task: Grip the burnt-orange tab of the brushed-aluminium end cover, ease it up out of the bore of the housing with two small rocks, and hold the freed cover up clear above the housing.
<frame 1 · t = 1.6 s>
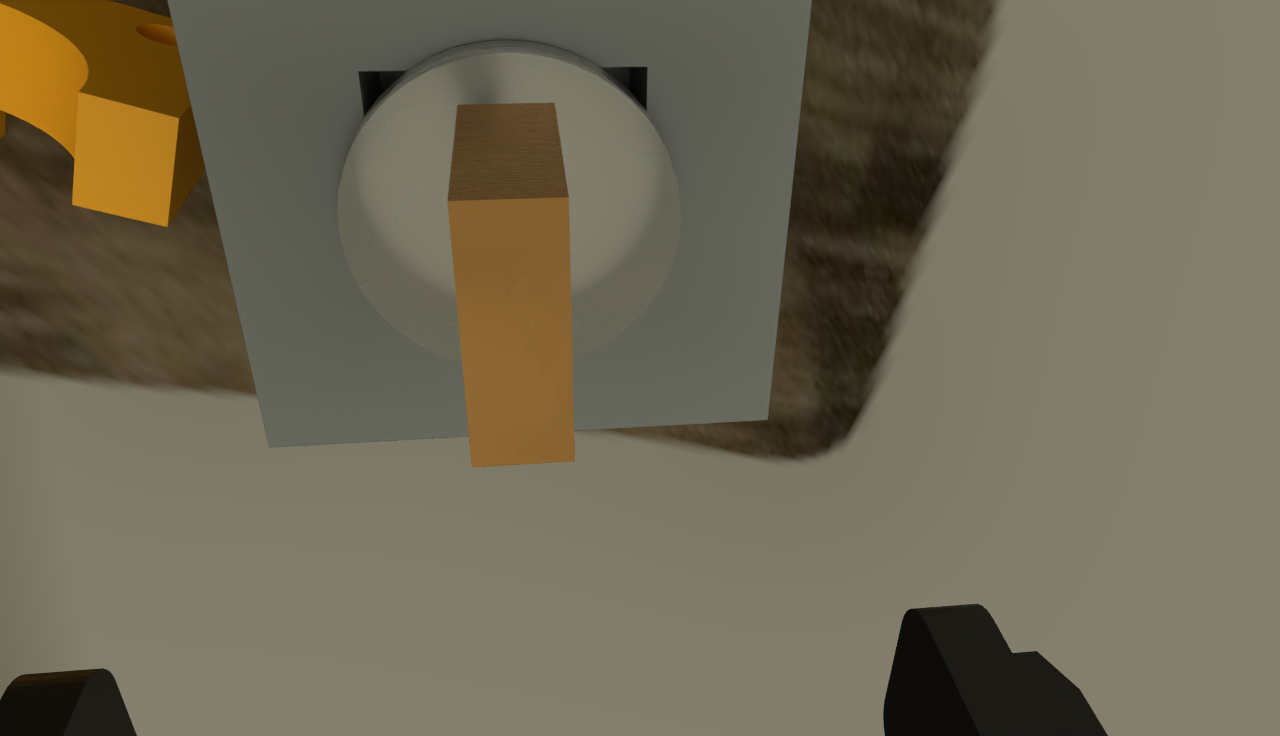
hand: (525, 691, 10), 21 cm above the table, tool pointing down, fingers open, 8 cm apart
end cover: (510, 151, 24), point 5 cm above the table, touching bearing housing
bearing housing: (508, 87, 28), on the table
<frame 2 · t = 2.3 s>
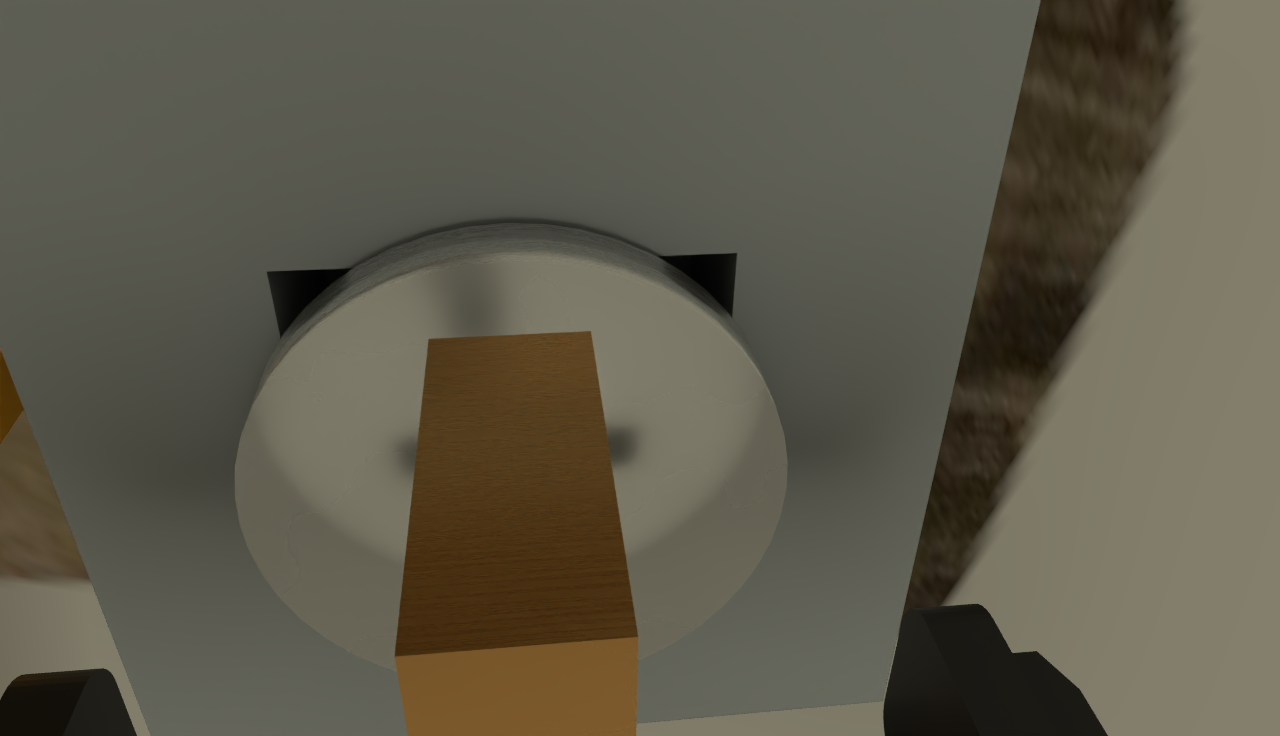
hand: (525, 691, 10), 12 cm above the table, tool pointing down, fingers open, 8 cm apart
end cover: (515, 333, 16), point 5 cm above the table, touching bearing housing
bearing housing: (511, 206, 20), on the table
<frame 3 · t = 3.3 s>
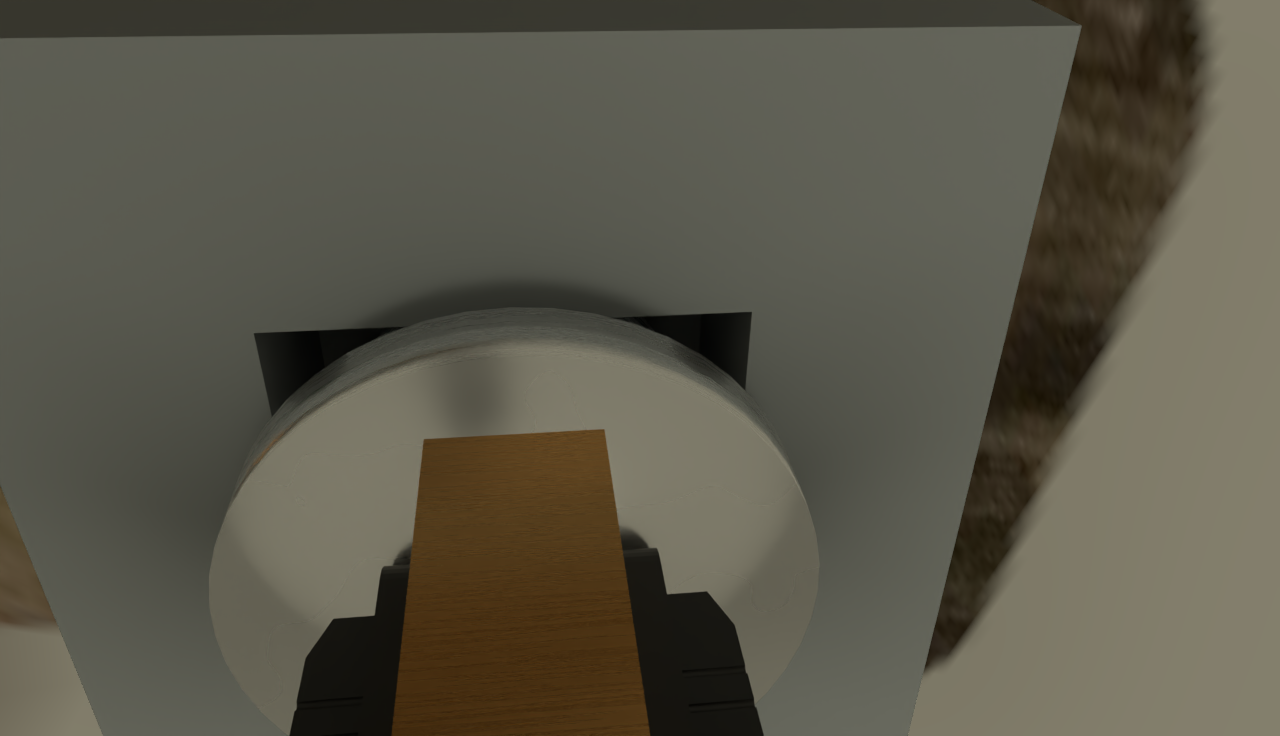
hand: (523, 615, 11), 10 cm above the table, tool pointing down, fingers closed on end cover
end cover: (519, 404, 15), point 6 cm above the table, touching gripper
bearing housing: (513, 245, 20), on the table
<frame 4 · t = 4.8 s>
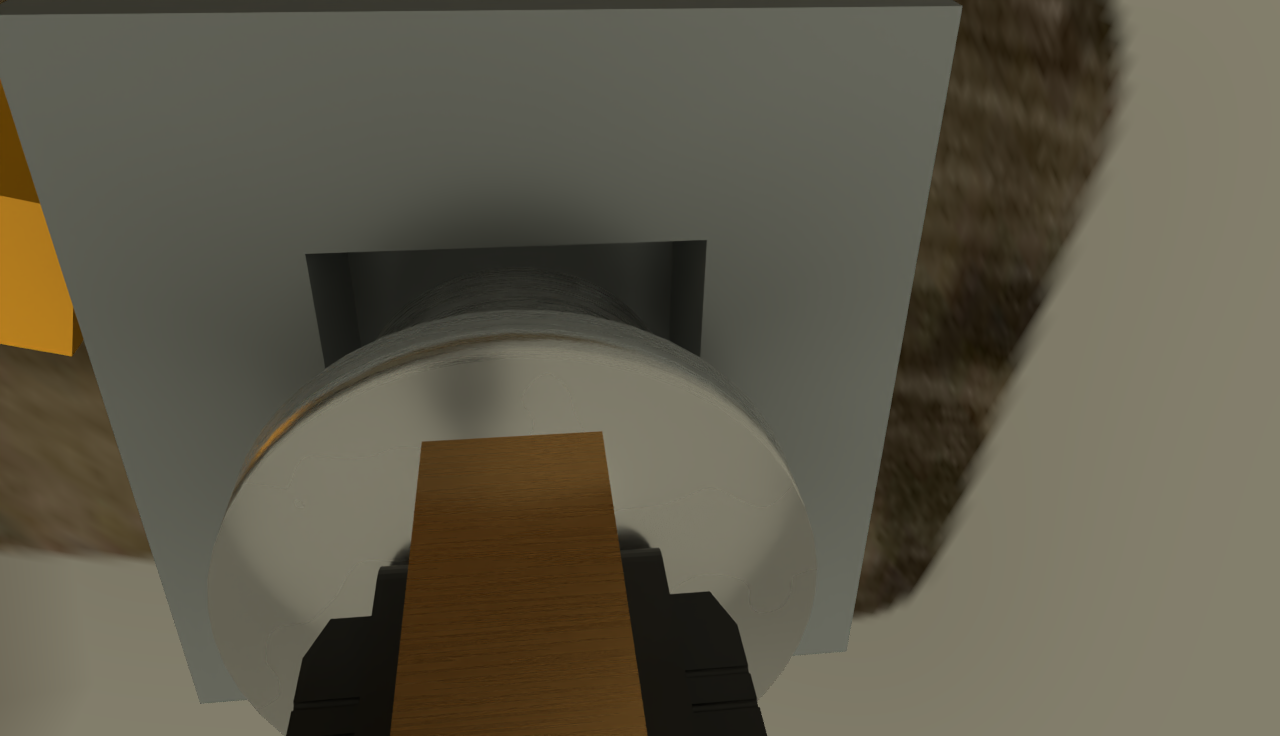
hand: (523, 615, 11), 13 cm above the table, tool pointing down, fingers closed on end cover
end cover: (518, 406, 15), point 8 cm above the table, touching gripper
bearing housing: (513, 208, 22), on the table
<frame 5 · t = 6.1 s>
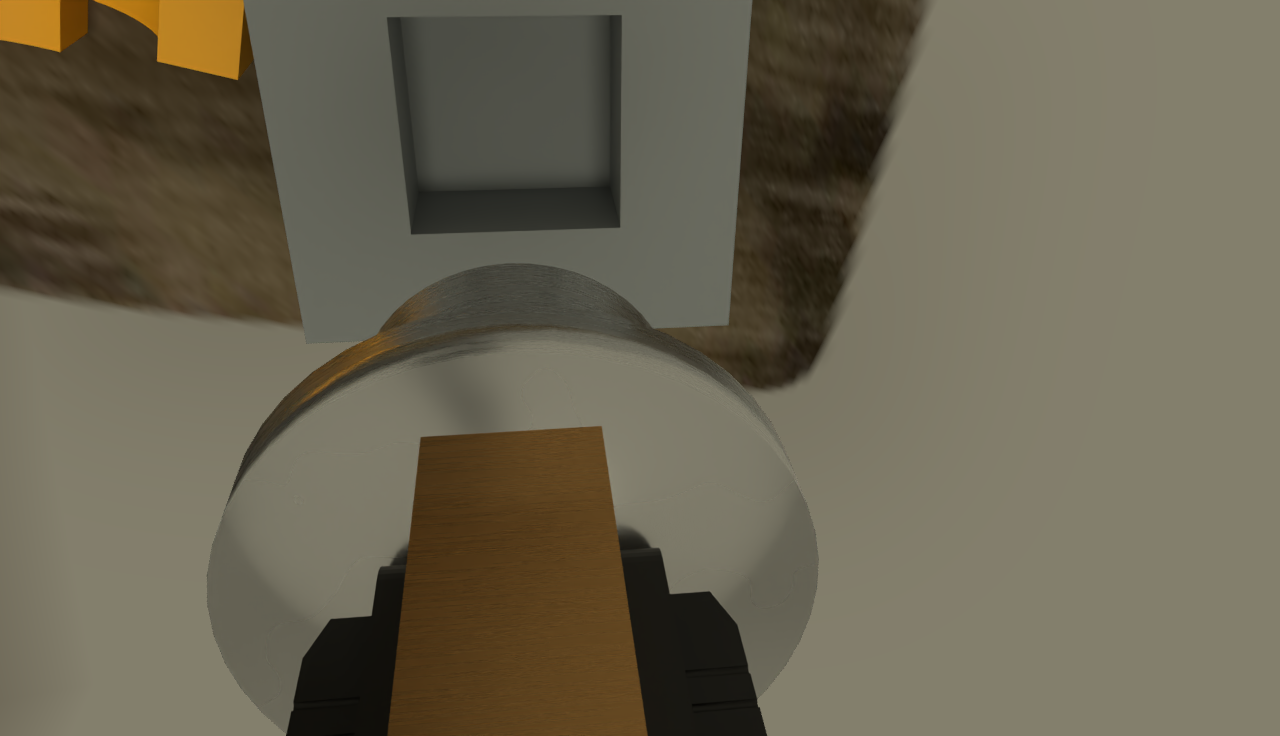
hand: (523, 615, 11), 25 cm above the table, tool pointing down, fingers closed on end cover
end cover: (518, 402, 15), point 21 cm above the table, touching gripper
bearing housing: (509, 48, 32), on the table
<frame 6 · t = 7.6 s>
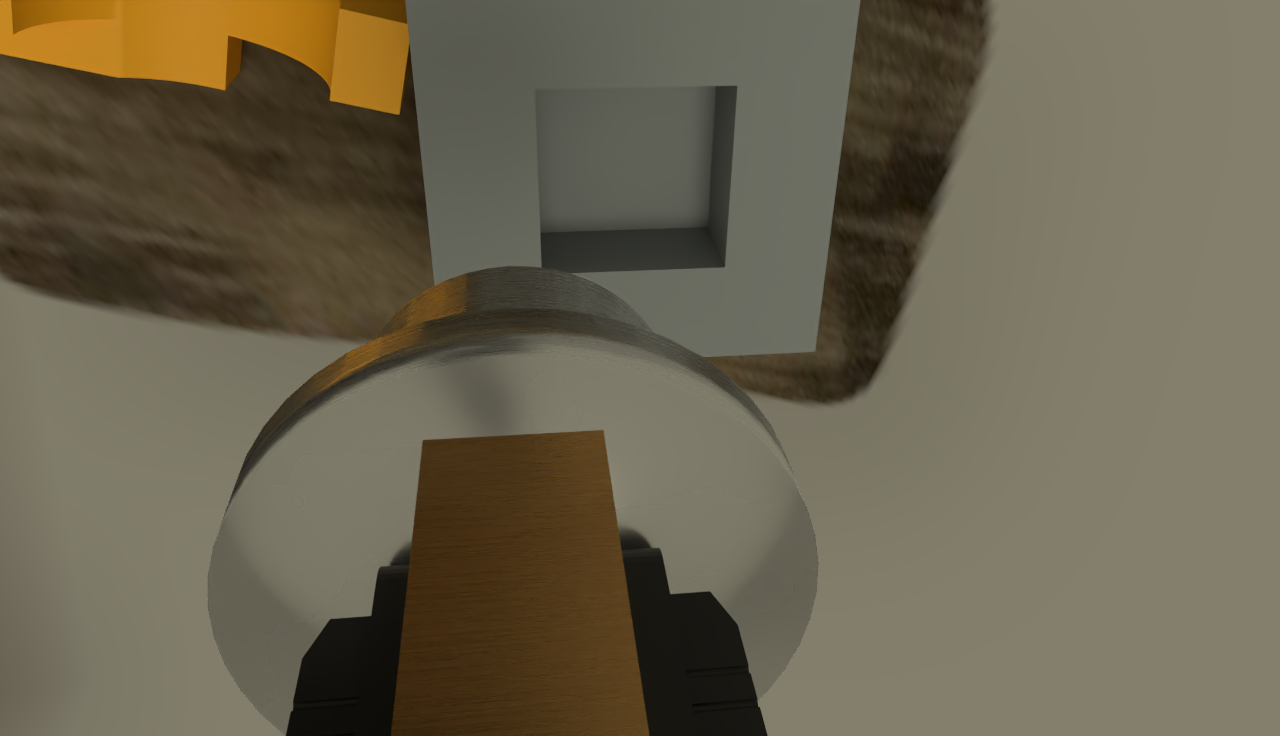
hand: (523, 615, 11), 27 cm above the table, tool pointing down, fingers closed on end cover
end cover: (518, 405, 15), point 23 cm above the table, touching gripper
bearing housing: (610, 99, 36), on the table
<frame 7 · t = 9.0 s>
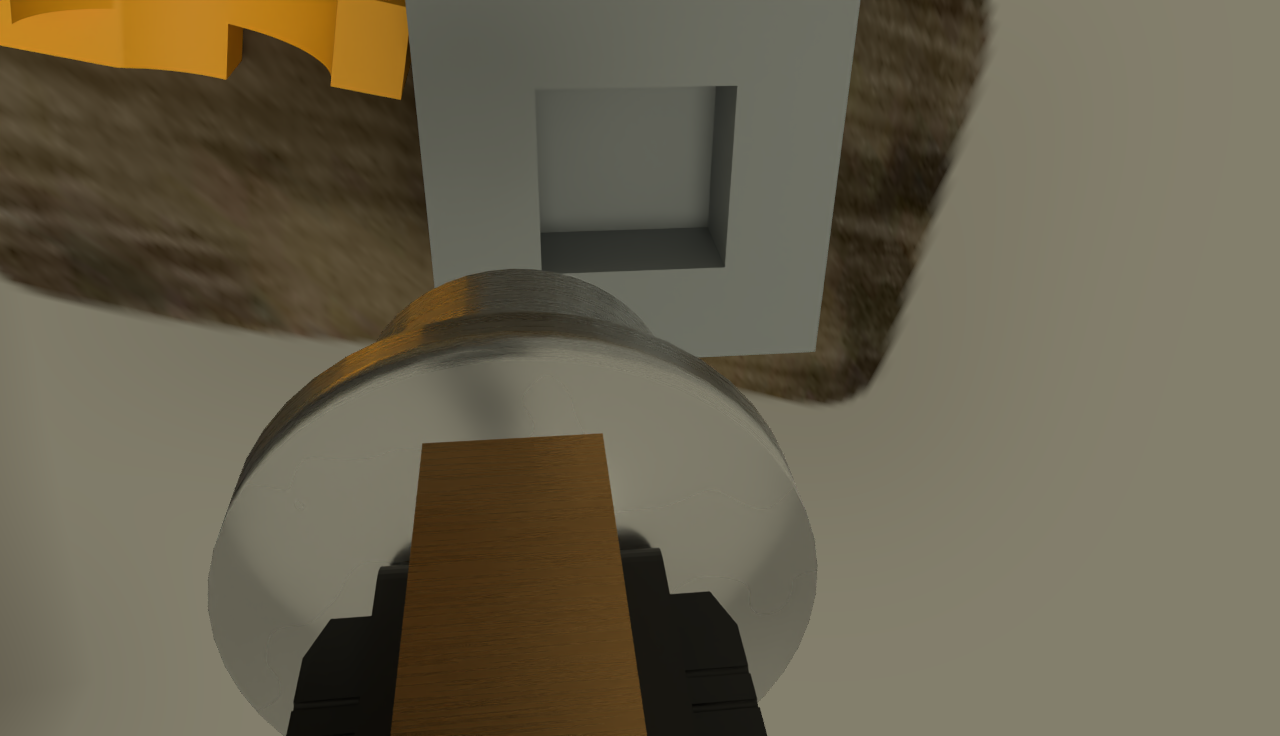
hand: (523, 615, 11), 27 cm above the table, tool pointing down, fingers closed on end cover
end cover: (518, 407, 15), point 23 cm above the table, touching gripper
bearing housing: (609, 99, 36), on the table
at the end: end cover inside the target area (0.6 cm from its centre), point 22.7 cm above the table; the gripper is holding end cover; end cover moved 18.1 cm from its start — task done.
